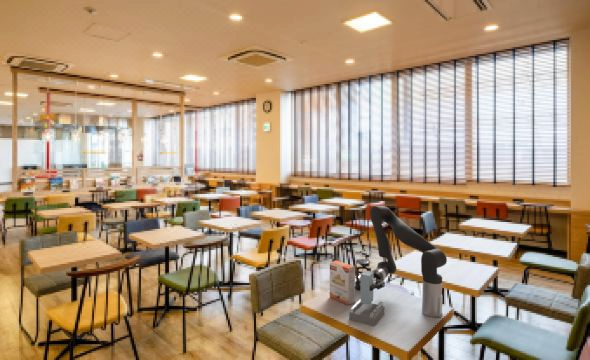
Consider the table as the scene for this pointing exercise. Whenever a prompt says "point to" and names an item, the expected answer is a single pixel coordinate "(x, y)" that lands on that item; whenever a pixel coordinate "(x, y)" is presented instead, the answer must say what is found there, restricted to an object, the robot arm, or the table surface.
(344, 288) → the cracker box
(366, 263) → the french press
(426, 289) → the robot arm
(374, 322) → the stand
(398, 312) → the table surface
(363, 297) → the light blue rectangular block
